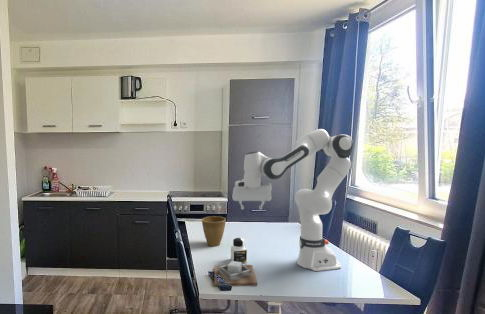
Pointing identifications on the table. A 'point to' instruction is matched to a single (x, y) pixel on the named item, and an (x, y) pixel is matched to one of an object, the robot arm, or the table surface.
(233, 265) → the small box
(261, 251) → the table surface
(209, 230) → the plant pot
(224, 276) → the pocket board
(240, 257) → the medicine bottle
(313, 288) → the table surface
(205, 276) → the table surface
